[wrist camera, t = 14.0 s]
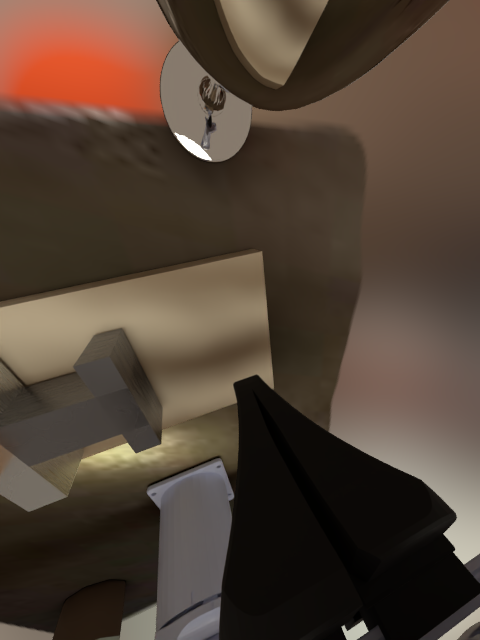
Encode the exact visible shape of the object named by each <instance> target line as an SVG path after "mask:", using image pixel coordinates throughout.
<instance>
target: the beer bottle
mask: <svg viewBox="0 0 480 640" xmlns="http://www.w3.org/2000/svg"><path fill="white" fill-rule="evenodd" d="M124 596H125V581H120V580H107V581H104V582H101V583H97V584H94V585H91V586H88V587H85V588H83V589H82V590H80V591H79V592H77V593H76V594H74V595H73V596H71V597H69V598H68V599H66V601H65V603H64V605H63V607H62V611H61V614H60V617H59V620H58V623H57V626H56V629H55V633H54V636H53V640H119V638H120V631H121V623H122V615H123V607H124Z"/></svg>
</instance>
